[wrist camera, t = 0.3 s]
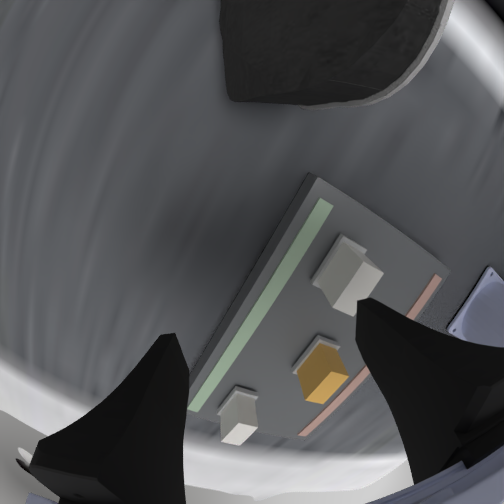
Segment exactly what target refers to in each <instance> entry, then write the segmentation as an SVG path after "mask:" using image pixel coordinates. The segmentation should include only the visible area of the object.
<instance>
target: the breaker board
mask: <svg viewBox="0 0 504 504" xmlns="http://www.w3.org/2000/svg"><path fill="white" fill-rule="evenodd" d="M340 233H341V234H343V235H345V236H346V237H348V238H350V239H351V240H353V241H355V242H356V243H358V244H360V245H361V246H363V247H364V248H366V249H367V251H366V253H365V254H364V255H366V256H367V257H368V258H369V259H370V260H371V261H372V262H373V263H374V264H375V265H376V266H377V267H378V268H379V269H380V270H381V271H382V272H383V273H384V274H383V276H382V277H381V279H380V280H379V282H378V283H377V284H376V286H375V287H374V289H373V290H372V292H371V293H370V295H369V296H368V297H367V298H370V297H371V298H373V299H375V300H377V301H379V302H381V303H383V304H384V305H386V306H388V307H390V308H392V309H393V310H395V311H397V312H399V313H401V314H402V315H404V316H406V317H408V318H410V319H412V320H414V321H416V322H417V320H418V319H419V318H420V316H421V315H422V313H423V312H424V311H425V309H426V308H427V307H428V305H429V304H430V302H431V301H432V299H433V298H434V297H435V295H436V294H437V292H438V291H439V289H440V288H441V286H442V285H443V283H444V282H445V280H446V278H447V277H448V275H449V274H450V272H451V270H450V269H449V268H448V267H446V266H445V265H444V264H443V263H441V262H440V261H439V260H438V259H436V258H435V257H434V256H432V255H431V254H430V253H429V252H427V251H426V250H425V249H423V248H422V247H421V246H419V245H418V244H417V243H415V242H414V241H413V240H411V239H410V238H409V237H407V236H406V235H405V234H403V233H402V232H400V231H399V230H398V229H396V228H395V227H393V226H392V225H391V224H389V223H388V222H386V221H385V220H384V219H382V218H381V217H379V216H378V215H376V214H375V213H373V212H372V211H370V210H369V209H367V208H366V207H365V206H363V205H362V204H360V203H358V202H357V201H355V200H354V199H352V198H351V197H349V196H348V195H346V194H345V193H343V192H342V191H340V190H338V189H337V188H335V187H334V186H332V185H330V184H329V183H327V182H326V181H324V180H322V179H321V178H319V177H317V176H315V175H313V174H311V173H308V175H307V177H306V178H305V180H304V182H303V184H302V185H301V187H300V189H299V191H298V192H297V194H296V196H295V197H294V199H293V201H292V203H291V204H290V206H289V208H288V210H287V211H286V213H285V215H284V216H283V218H282V220H281V222H280V223H279V225H278V227H277V228H276V230H275V232H274V234H273V235H272V237H271V239H270V240H269V242H268V244H267V245H266V247H265V249H264V251H263V252H262V254H261V256H260V257H259V259H258V261H257V263H256V264H255V266H254V268H253V269H252V271H251V273H250V274H249V276H248V278H247V280H246V281H245V283H244V285H243V286H242V288H241V290H240V291H239V293H238V295H237V296H236V298H235V300H234V302H233V303H232V305H231V307H230V308H229V310H228V312H227V313H226V315H225V317H224V318H223V320H222V322H221V323H220V325H219V327H218V328H217V330H216V332H215V333H214V335H213V337H212V339H211V340H210V342H209V344H208V345H207V347H206V349H205V350H204V352H203V354H202V355H201V357H200V359H199V360H198V362H197V364H196V365H195V367H194V369H193V370H192V372H191V374H190V375H189V398H188V406H187V414H188V415H191V416H194V417H198V418H201V419H205V420H208V421H212V422H215V423H219V424H221V416H220V415H217V409H218V408H219V407H220V406H221V404H222V403H223V402H224V400H225V399H226V398H227V397H228V395H229V394H230V393H231V391H232V390H233V389H234V388H235V386H237V387H241V388H244V389H248V390H251V391H254V392H258V398H257V399H256V400H255V406H256V414H257V422H258V428H257V429H256V430H255V431H254V432H258V433H263V434H268V435H273V436H279V437H285V438H291V439H297V440H304V441H305V440H306V439H307V438H309V437H310V436H311V435H312V434H313V433H314V432H315V431H317V430H318V429H319V428H320V427H321V426H322V425H323V424H324V423H325V422H326V421H328V420H329V419H330V418H331V417H332V416H333V415H334V414H335V413H336V412H337V411H338V410H339V409H340V408H341V407H342V406H343V405H344V404H345V403H346V402H347V401H348V400H349V399H350V398H351V397H352V396H353V395H354V394H355V393H356V392H357V391H358V390H359V389H360V388H361V387H362V386H363V385H364V384H365V383H366V381H367V380H368V379H369V378H370V377H371V376H372V375H371V373H370V371H369V369H368V368H367V366H366V364H365V362H364V360H363V358H362V356H361V354H360V351H359V349H358V346H357V344H356V341H355V334H356V314H357V313H356V314H355V315H354V317H353V316H351V315H348V314H346V313H344V312H341V311H339V310H337V309H335V308H332V306H331V305H330V303H329V301H328V299H327V298H326V296H325V294H324V293H323V291H322V289H320V288H318V287H316V286H314V285H312V284H311V282H310V280H311V279H312V277H313V276H314V274H315V273H316V271H317V270H318V268H319V267H320V265H321V264H322V262H323V260H324V259H325V257H326V256H327V254H328V253H329V251H330V249H331V248H332V246H333V245H334V243H335V241H336V240H337V238H338V237H339V235H340ZM317 335H319V336H322V337H325V338H327V339H330V340H333V341H335V342H338V343H339V345H340V348H339V349H338V350H337V352H338V354H339V356H340V358H341V360H342V362H343V364H344V366H345V369H346V371H347V373H348V375H349V377H348V378H347V379H346V381H345V382H344V383H343V384H342V385H341V386H340V387H339V388H338V389H337V390H336V391H335V392H334V393H333V394H332V395H331V396H330V397H329V399H328V400H327V401H326V402H325V403H324V404H320V403H315V402H310V401H306V400H305V399H304V395H303V392H302V388H301V385H300V381H299V378H298V375H297V374H293V373H292V371H291V368H292V367H293V366H294V364H295V363H296V362H297V361H298V360H299V358H300V357H301V356H302V355H303V353H304V352H305V351H306V349H307V348H308V347H309V346H310V344H311V343H312V342H313V340H314V339H315V338H316V337H317Z"/></svg>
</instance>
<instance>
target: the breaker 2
mask: <svg viewBox="0 0 504 504" xmlns="http://www.w3.org/2000/svg"><path fill="white" fill-rule="evenodd" d="M366 251H367V249H366V248H364V247H363V246H361V245H360V244H358V243H356V242H355V241H353V240H351V239H350V238H348V237H346V236H345V235H343V234H341V233H340V235H339V237H338V238H337V240H336V241H335V243H334V245H333V246H332V248H331V249H330V251H329V253H328V254H327V256H326V257H325V259H324V260H323V262H322V264H321V265H320V267H319V268H318V270H317V271H316V273H315V274H314V276H313V277H312V279H311V280H310V282H311V284H312V285H314V286H316V287H318V288H320V289H322V291H323V293H324V294H325V296H326V298H327V299H328V301H329V303H330V305H331V306H332V308H335V309H337V310H339V311H341V312H344V313H346V314H348V315H351V316H353V317H354V315H355V314H356V313H357V300H362V299H366V298H367V297H368V296H369V295H370V293H371V292H372V290H373V289H374V287H375V286H376V284H377V283H378V282H379V280H380V279H381V277H382V276H383V274H384V273H383V272H382V271H381V270H380V269H379V268H378V267H377V266H376V265H375V264H374V263H373V262H372V261H371V260H370V259H369V258H368V257H367V256H366V255H364V254H365V253H366Z"/></svg>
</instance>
